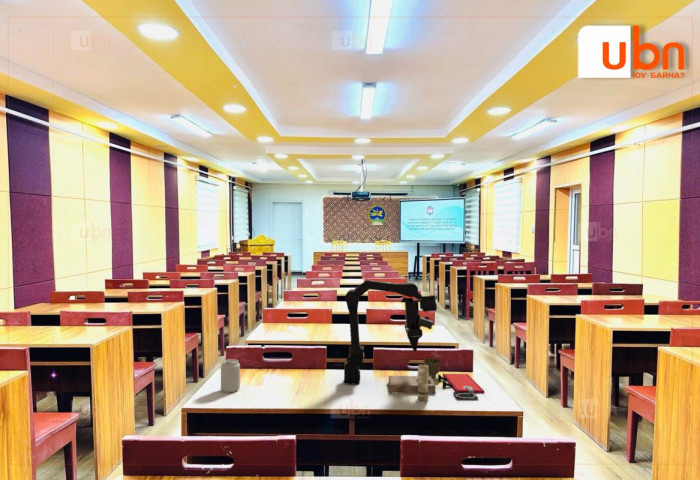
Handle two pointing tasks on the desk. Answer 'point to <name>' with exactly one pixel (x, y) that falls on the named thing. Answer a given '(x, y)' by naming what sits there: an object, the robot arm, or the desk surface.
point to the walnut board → (408, 384)
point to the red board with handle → (461, 385)
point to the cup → (432, 366)
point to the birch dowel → (423, 382)
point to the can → (230, 375)
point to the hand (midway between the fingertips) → (414, 348)
